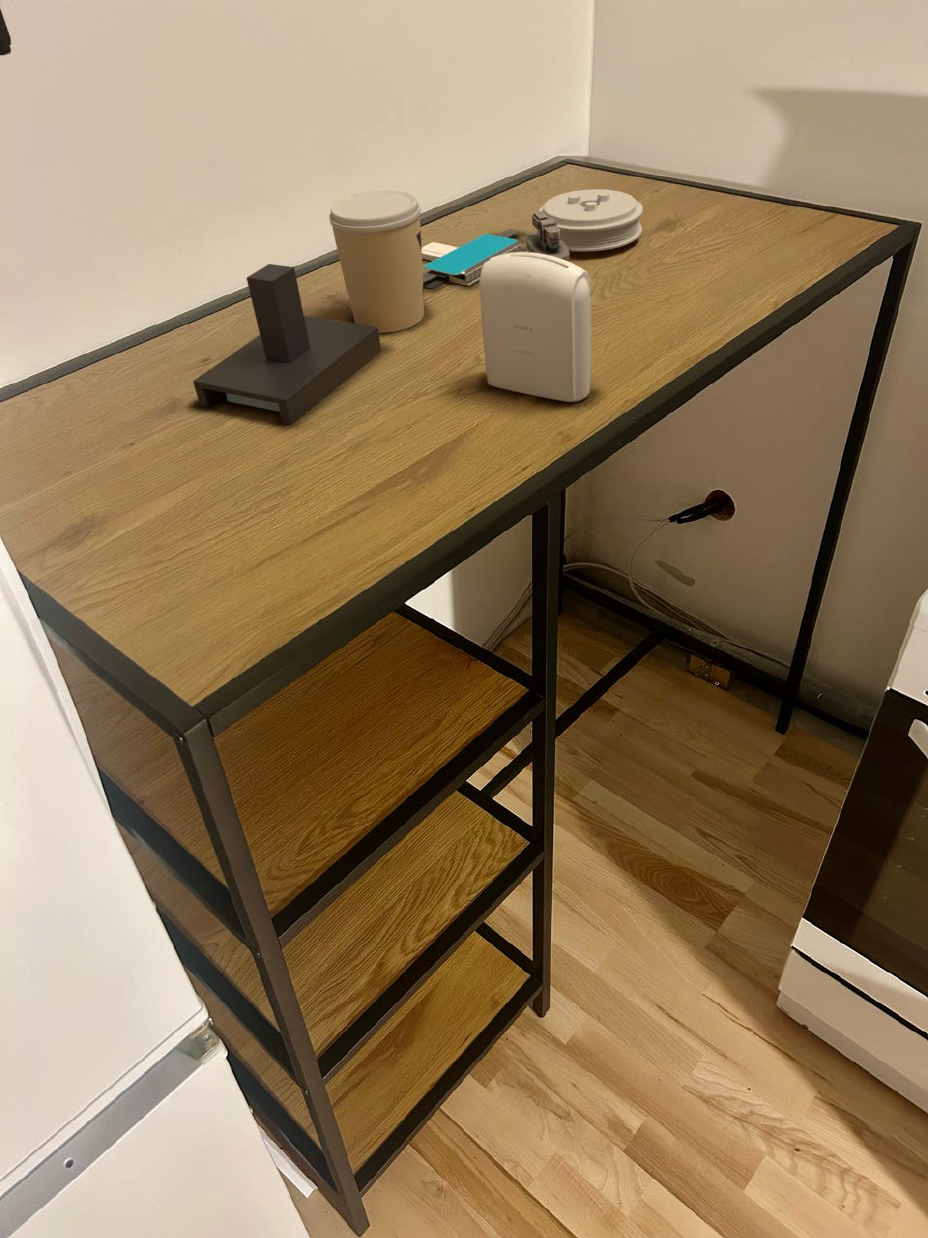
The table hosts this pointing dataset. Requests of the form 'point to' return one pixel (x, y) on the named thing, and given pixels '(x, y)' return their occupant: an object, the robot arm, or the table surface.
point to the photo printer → (537, 325)
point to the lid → (595, 219)
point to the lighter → (546, 237)
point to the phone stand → (465, 258)
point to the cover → (288, 351)
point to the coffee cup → (381, 257)
